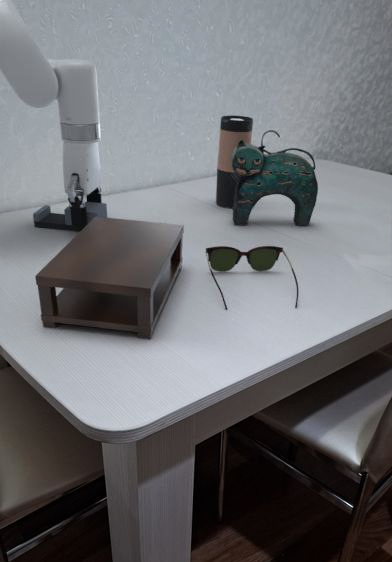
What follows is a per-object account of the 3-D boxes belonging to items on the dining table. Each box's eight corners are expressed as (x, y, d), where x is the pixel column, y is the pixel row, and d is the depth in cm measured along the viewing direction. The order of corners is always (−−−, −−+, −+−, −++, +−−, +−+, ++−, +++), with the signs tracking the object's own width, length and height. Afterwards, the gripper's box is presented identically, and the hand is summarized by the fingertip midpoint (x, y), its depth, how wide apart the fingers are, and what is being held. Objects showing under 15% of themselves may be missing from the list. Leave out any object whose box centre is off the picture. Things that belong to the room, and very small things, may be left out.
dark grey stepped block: (34, 227, 106) (31, 206, 104) (46, 217, 112) (44, 197, 109) (98, 233, 105) (97, 212, 103) (107, 223, 110) (106, 203, 108)
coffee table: (41, 326, 72) (35, 275, 68) (98, 258, 94) (95, 216, 90) (150, 340, 71) (150, 288, 66) (182, 267, 92) (183, 225, 88)
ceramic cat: (227, 226, 112) (235, 130, 102) (223, 217, 118) (231, 125, 107) (314, 228, 114) (331, 134, 103) (306, 219, 120) (321, 128, 109)
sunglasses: (279, 270, 93) (283, 245, 90) (303, 314, 82) (309, 287, 79) (202, 271, 91) (204, 246, 88) (216, 316, 80) (219, 289, 77)
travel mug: (246, 201, 130) (254, 116, 119) (243, 210, 123) (252, 121, 113) (217, 198, 131) (222, 114, 120) (212, 206, 124) (218, 119, 114)
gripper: (77, 123, 105) (84, 205, 115) (44, 139, 91) (55, 230, 100) (112, 126, 105) (116, 207, 114) (84, 141, 90) (91, 233, 100)
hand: (87, 218), depth 107 cm, fingers open, 9 cm apart
